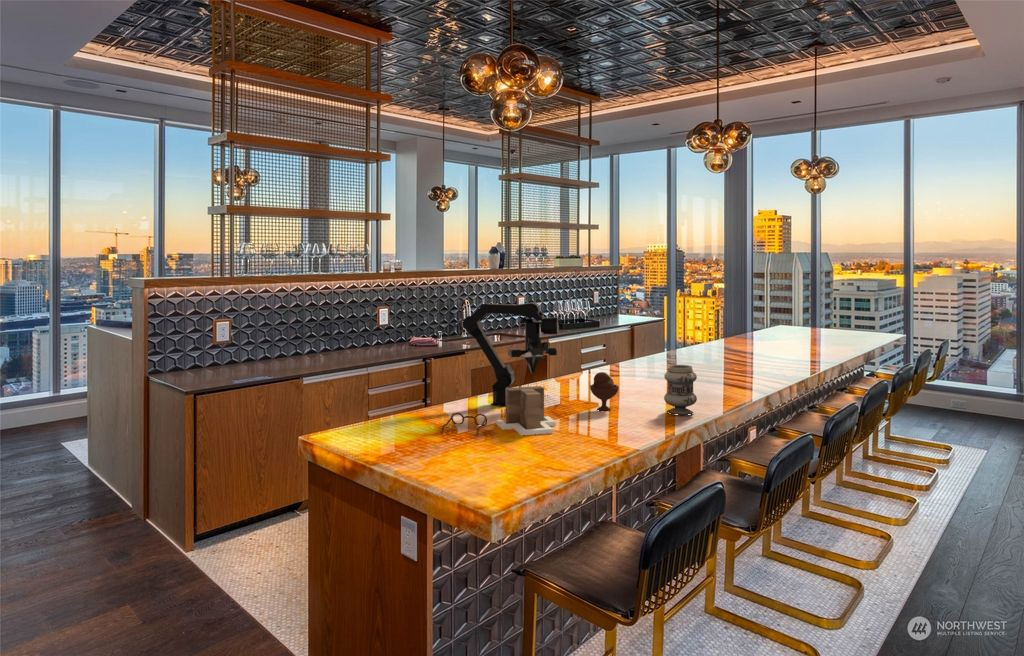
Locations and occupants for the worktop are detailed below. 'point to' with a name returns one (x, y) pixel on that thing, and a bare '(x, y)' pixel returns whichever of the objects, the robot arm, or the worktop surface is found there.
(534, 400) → the t block
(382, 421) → the worktop surface
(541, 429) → the t outline
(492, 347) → the robot arm
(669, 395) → the apothecary jar
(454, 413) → the glasses
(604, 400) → the ice cream bowl
